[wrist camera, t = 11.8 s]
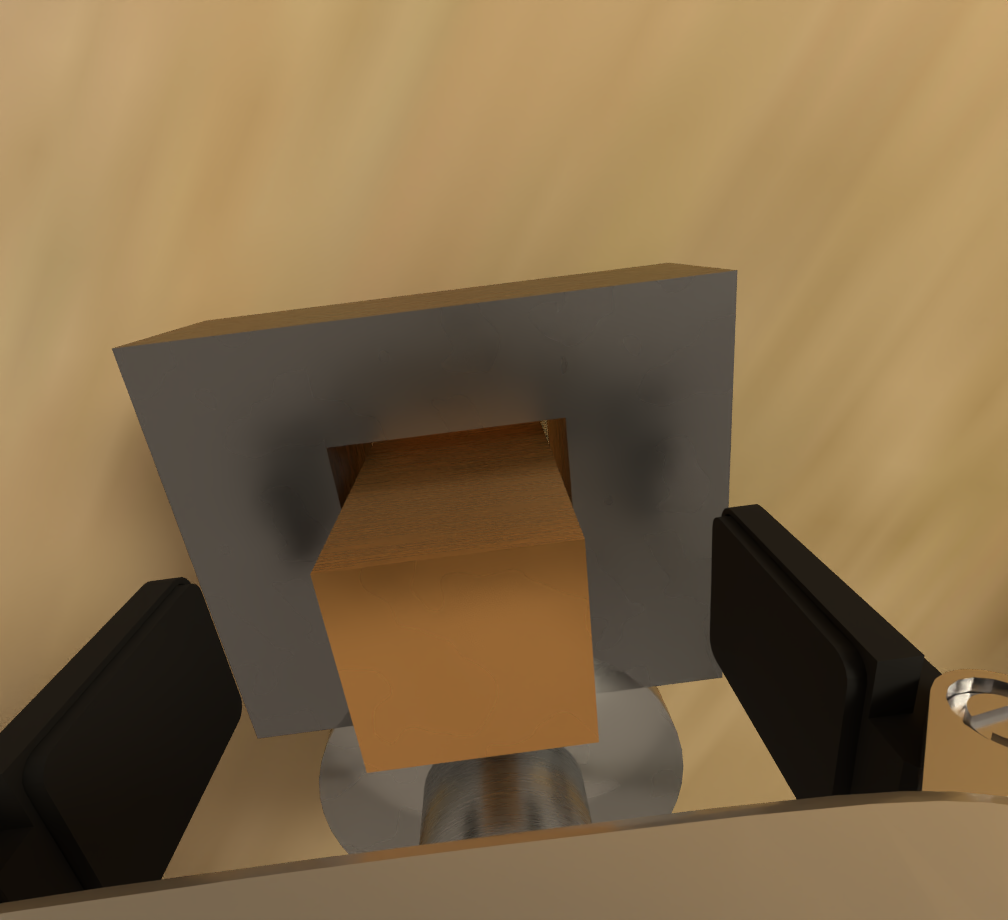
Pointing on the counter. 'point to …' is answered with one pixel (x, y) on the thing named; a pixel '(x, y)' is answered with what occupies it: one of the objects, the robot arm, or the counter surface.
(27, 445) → the counter surface
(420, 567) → the wooden block
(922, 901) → the robot arm
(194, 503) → the block with square hole
